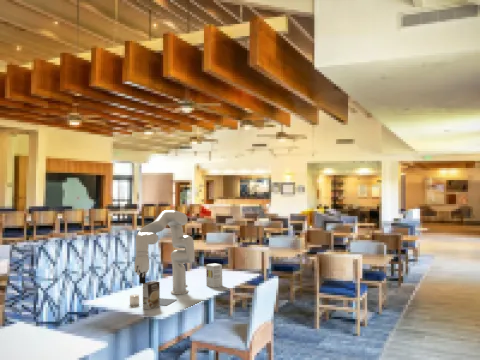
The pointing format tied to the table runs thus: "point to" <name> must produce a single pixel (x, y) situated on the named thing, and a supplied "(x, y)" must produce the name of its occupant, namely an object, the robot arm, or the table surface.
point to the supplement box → (214, 275)
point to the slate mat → (166, 301)
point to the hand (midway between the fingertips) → (142, 283)
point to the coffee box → (151, 295)
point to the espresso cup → (134, 300)
